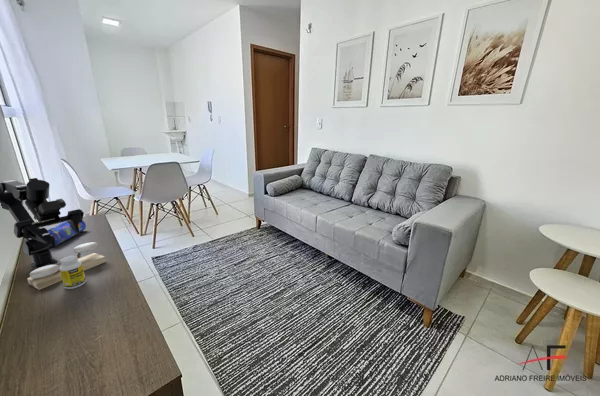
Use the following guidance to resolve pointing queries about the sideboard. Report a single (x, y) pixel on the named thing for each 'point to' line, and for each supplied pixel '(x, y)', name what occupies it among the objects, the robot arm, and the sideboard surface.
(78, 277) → the pill bottle
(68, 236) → the pencil case
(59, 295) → the sideboard surface
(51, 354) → the sideboard surface
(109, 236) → the sideboard surface
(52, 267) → the balance
